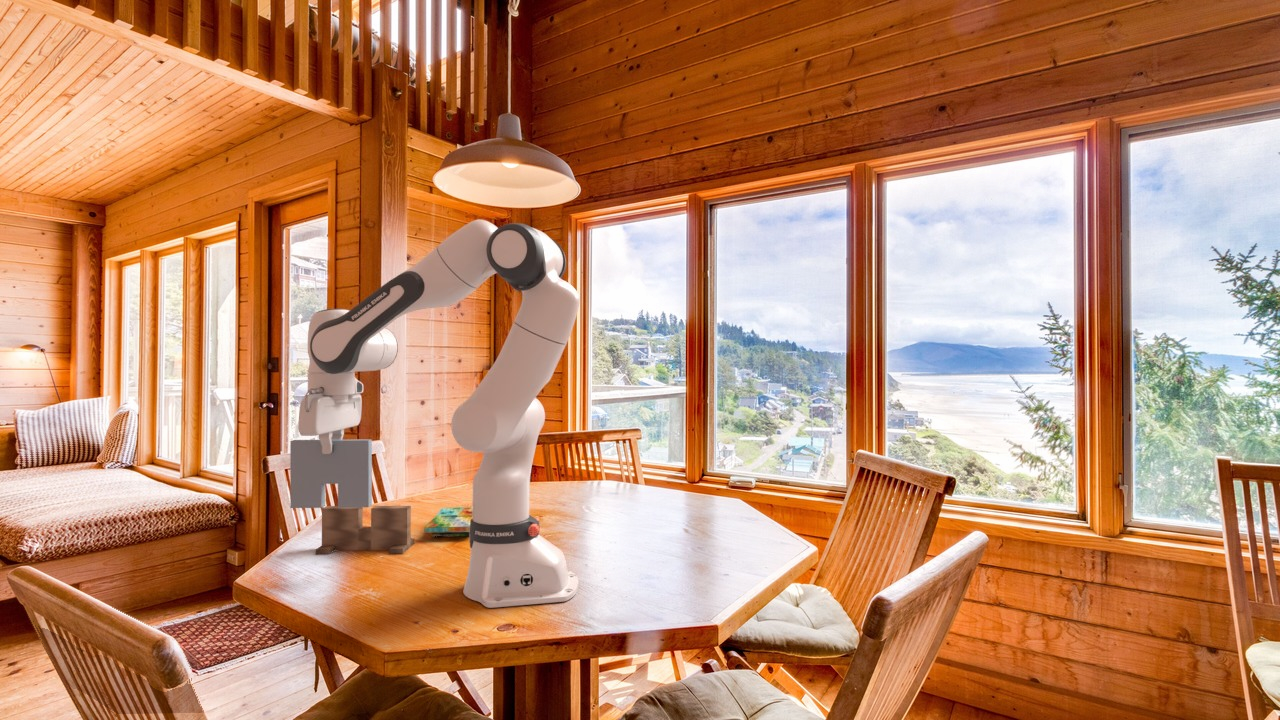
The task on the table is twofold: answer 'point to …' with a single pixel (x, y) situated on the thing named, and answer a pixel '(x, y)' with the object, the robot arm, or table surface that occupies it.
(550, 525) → the table surface
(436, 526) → the puzzle game
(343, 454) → the grey notched slab
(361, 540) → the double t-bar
